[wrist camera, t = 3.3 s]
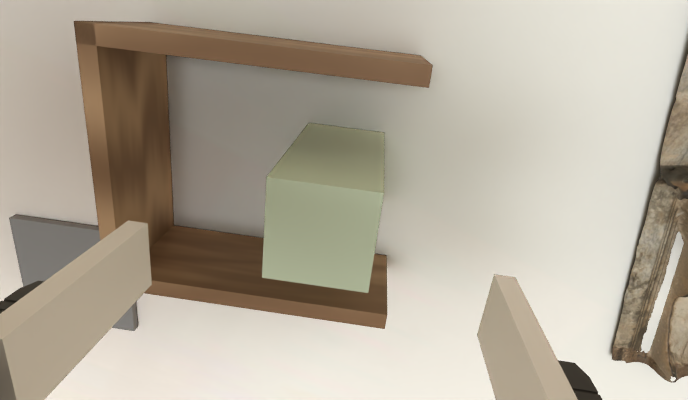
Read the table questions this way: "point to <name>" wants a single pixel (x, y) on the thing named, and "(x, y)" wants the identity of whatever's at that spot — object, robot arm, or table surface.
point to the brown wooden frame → (155, 160)
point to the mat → (55, 251)
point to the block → (325, 208)
